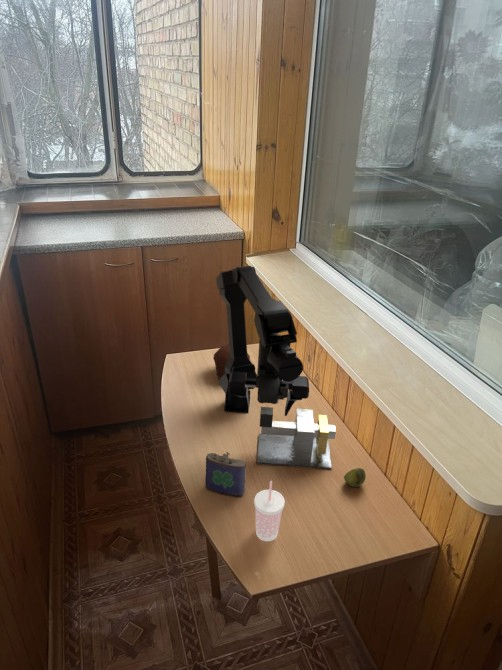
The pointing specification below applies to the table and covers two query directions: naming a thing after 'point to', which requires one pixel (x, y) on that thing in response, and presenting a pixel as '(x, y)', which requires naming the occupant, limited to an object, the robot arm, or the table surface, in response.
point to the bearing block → (294, 446)
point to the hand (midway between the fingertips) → (266, 413)
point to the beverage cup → (268, 513)
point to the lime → (355, 477)
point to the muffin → (222, 359)
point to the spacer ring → (322, 435)
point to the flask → (225, 475)
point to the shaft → (285, 425)
